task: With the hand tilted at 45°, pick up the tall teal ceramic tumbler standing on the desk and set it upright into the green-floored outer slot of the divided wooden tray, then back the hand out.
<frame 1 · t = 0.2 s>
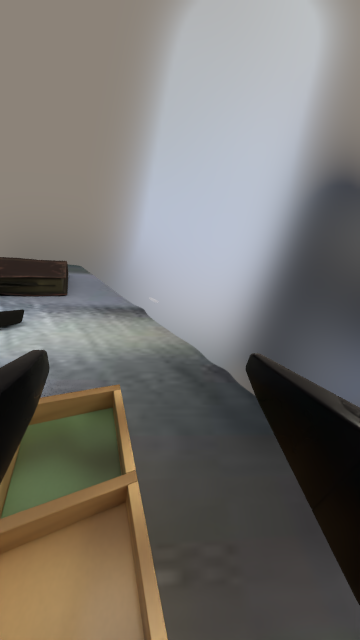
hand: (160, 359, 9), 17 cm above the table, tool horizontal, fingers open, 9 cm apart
divided wooden tray: (67, 523, 15), on the table
diary: (13, 284, 51), on the table
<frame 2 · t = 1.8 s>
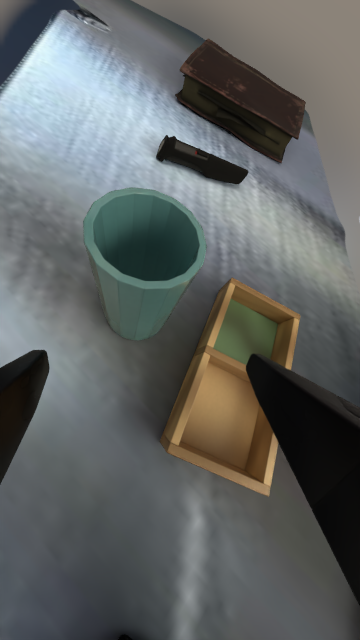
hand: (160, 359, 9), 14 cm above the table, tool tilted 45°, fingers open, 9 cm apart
divided wooden tray: (230, 371, 24), on the table
tumbler: (137, 311, 24), on the table
electric trimmer: (198, 170, 35), on the table
diary: (237, 116, 44), on the table
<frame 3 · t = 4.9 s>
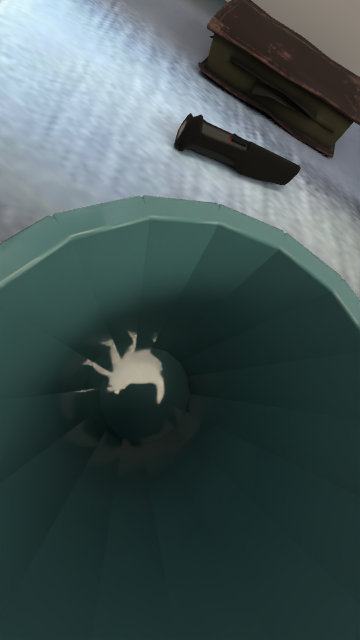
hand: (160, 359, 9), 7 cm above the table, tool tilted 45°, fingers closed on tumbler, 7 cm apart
tumbler: (146, 391, 14), on the table, touching gripper
electric trimmer: (229, 165, 25), on the table
diary: (274, 97, 34), on the table
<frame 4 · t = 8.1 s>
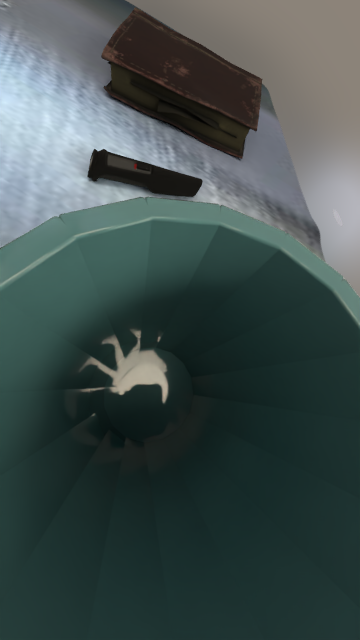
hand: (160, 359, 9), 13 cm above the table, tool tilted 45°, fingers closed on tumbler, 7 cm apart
tumbler: (149, 391, 15), point 7 cm above the table, touching gripper
electric trimmer: (143, 185, 29), on the table
diary: (186, 105, 37), on the table
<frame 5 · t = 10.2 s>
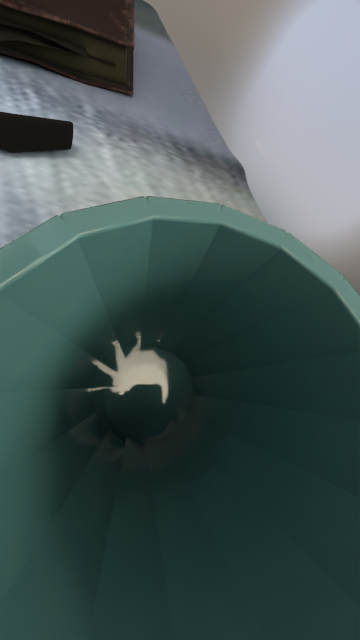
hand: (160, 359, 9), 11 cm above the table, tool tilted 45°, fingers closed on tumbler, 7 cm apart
tumbler: (150, 390, 15), point 4 cm above the table, touching gripper
diary: (45, 35, 29), on the table
when the fingers open (8 cm above the table, at t = 11.7 s): tumbler stays where it is, resting on divided wooden tray.
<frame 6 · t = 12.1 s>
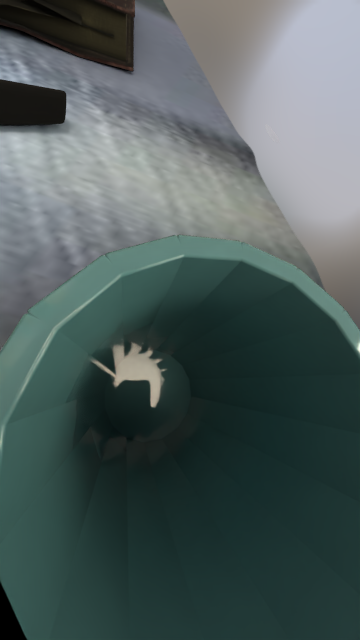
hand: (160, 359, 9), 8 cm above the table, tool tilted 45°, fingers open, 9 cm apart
tumbler: (149, 392, 15), point 1 cm above the table, touching divided wooden tray
diary: (38, 7, 26), on the table
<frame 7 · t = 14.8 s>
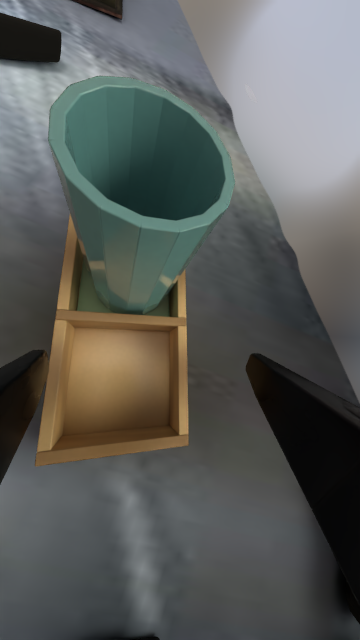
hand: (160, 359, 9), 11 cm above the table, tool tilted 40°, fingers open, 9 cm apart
divided wooden tray: (125, 326, 19), on the table
tumbler: (131, 282, 20), point 1 cm above the table, touching divided wooden tray
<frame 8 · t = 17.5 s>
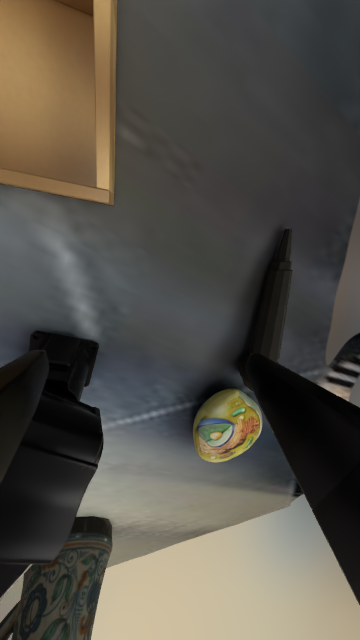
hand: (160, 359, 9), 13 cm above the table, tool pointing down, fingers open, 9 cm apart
beer stein: (68, 534, 44), on the table
microphone: (265, 315, 26), on the table
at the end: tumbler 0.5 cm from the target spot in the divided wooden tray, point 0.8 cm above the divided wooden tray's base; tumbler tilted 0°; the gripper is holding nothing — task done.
